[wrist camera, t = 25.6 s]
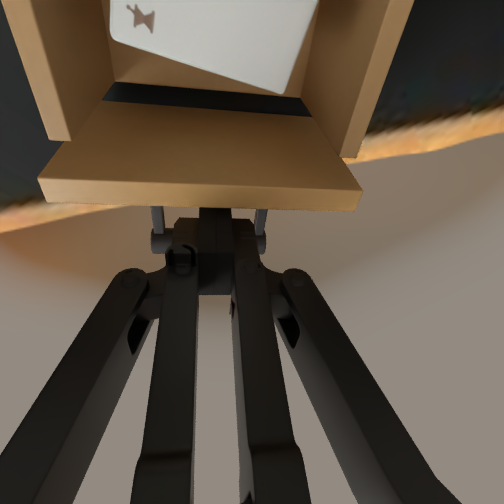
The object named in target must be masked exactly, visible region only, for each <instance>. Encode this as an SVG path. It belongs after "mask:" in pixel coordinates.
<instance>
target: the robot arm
mask: <svg viewBox="0 0 504 504" xmlns="http://www.w3.org/2000/svg"><path fill="white" fill-rule="evenodd" d="M255 233H256V232H255V226H254V224H253V223H252V222H251V221H250V219H234V218H232V215H231V208H211V207H200V208H199V218H180V217H179V219H178V220H177V221H176V223H175V224H174V230H173V238H172V245H170V246H169V247H168V248H167V249H166V251H165V258H166V266H165V267H164V268H162V269H160V270H158V271H155V272H151V273H147V274H146V273H145V272H144V271H143V270H140V269H138V268H130V269H125V270H123V271H121V272H119V273H118V274H117V275H116V276H115V277H114V279H113V280H112V282H111V283H110V285H109V286H108V288H107V289H106V291H105V293H104V294H103V296H102V297H101V299H100V300H99V302H98V303H97V305H96V307H95V308H94V310H93V311H92V313H91V314H90V316H89V318H88V319H87V321H86V322H85V324H84V325H83V327H82V328H81V330H80V332H79V333H78V335H77V336H76V338H75V340H74V341H73V342H72V344H71V346H70V347H69V349H68V350H67V352H66V354H65V355H64V356H63V358H62V360H61V361H60V363H59V364H58V366H57V368H56V369H55V371H54V372H53V374H52V376H51V377H50V378H49V380H48V381H47V383H46V385H45V386H44V388H43V389H42V391H41V392H40V394H39V396H38V397H37V399H36V400H35V402H34V403H33V405H32V406H31V408H30V410H29V411H28V413H27V414H26V416H25V417H24V419H23V420H22V422H21V424H20V426H19V427H18V428H17V430H16V432H15V433H14V435H13V436H12V438H11V439H10V441H9V442H8V444H7V445H6V447H5V449H4V450H3V452H2V453H1V455H0V504H72V503H73V501H74V499H75V497H76V494H77V492H78V490H79V488H80V486H81V483H82V481H83V479H84V477H85V474H86V472H87V470H88V468H89V465H90V463H91V461H92V459H93V456H94V454H95V452H96V450H97V447H98V445H99V443H100V441H101V438H102V436H103V434H104V432H105V430H106V427H107V425H108V423H109V421H110V418H111V416H112V414H113V412H114V409H115V407H116V405H117V403H118V400H119V398H120V396H121V394H122V391H123V389H124V387H125V384H126V382H127V380H128V378H129V376H130V373H131V371H132V369H133V367H134V365H135V362H136V360H137V358H138V356H139V353H140V351H141V349H142V347H143V344H144V342H145V340H146V338H147V335H148V333H149V331H150V328H151V326H152V324H153V322H154V319H157V318H159V325H158V333H157V340H156V347H155V354H154V362H153V370H152V376H151V384H150V391H149V399H148V406H147V413H146V421H145V428H144V435H143V443H142V449H141V454H140V457H139V459H138V461H137V465H136V469H135V474H134V479H133V486H132V493H131V501H130V504H193V503H194V454H195V453H194V451H195V419H196V418H195V417H196V383H197V382H196V381H197V348H198V311H199V310H198V309H199V295H230V294H231V304H230V314H231V323H232V340H233V358H234V375H235V393H236V411H237V429H238V446H239V463H240V479H239V490H240V491H239V492H240V504H311V499H310V493H309V488H308V482H307V477H306V472H305V466H304V461H303V457H302V453H301V451H300V448H299V447H298V446H297V444H296V442H295V440H294V435H293V430H292V424H291V418H290V412H289V406H288V401H287V395H286V389H285V383H284V378H283V372H282V366H281V360H280V354H279V349H278V343H277V337H276V332H275V326H274V322H275V324H276V327H277V329H278V331H279V333H280V335H281V337H282V340H283V342H284V344H285V346H286V348H287V350H288V352H289V355H290V357H291V359H292V361H293V364H294V366H295V368H296V370H297V372H298V374H299V377H300V379H301V381H302V383H303V385H304V388H305V390H306V392H307V394H308V396H309V399H310V401H311V403H312V405H313V407H314V410H315V412H316V414H317V416H318V418H319V420H320V422H321V425H322V427H323V429H324V431H325V433H326V436H327V438H328V440H329V442H330V444H331V447H332V449H333V451H334V453H335V455H336V457H337V459H338V462H339V464H340V466H341V468H342V470H343V473H344V475H345V477H346V479H347V481H348V484H349V486H350V488H351V490H352V492H353V494H354V496H355V498H356V500H357V502H358V504H462V503H461V502H460V501H459V500H458V499H456V498H455V496H454V495H453V494H452V493H451V492H450V491H449V490H448V489H447V488H446V487H445V486H444V485H443V484H442V483H441V482H440V481H439V480H438V479H437V478H436V477H435V475H434V473H433V472H432V470H431V469H430V467H429V465H428V464H427V462H426V461H425V459H424V457H423V456H422V454H421V453H420V451H419V449H418V448H417V446H416V445H415V443H414V441H413V440H412V438H411V437H410V435H409V434H408V432H407V431H406V429H405V427H404V426H403V424H402V422H401V421H400V419H399V418H398V416H397V415H396V413H395V411H394V410H393V408H392V406H391V405H390V403H389V402H388V400H387V398H386V397H385V395H384V394H383V392H382V391H381V389H380V388H379V386H378V384H377V382H376V381H375V379H374V378H373V376H372V374H371V373H370V371H369V370H368V368H367V367H366V365H365V364H364V362H363V360H362V359H361V357H360V355H359V354H358V352H357V351H356V349H355V347H354V346H353V344H352V343H351V341H350V339H349V338H348V336H347V335H346V333H345V332H344V330H343V328H342V327H341V325H340V323H339V322H338V320H337V319H336V317H335V316H334V314H333V312H332V311H331V309H330V307H329V306H328V304H327V303H326V301H325V300H324V298H323V296H322V295H321V293H320V292H319V290H318V288H317V287H316V285H315V284H314V282H313V280H312V279H311V277H310V276H309V275H308V274H307V273H306V272H304V271H303V270H300V269H296V268H295V269H294V268H293V269H288V270H285V271H284V273H283V274H282V273H278V272H274V271H271V270H269V269H267V268H266V267H265V266H264V265H263V263H262V262H261V261H260V256H259V250H258V244H257V239H256V234H255Z"/></svg>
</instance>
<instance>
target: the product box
mask: <svg viewBox="0 0 504 504" xmlns="http://www.w3.org/2000/svg"><path fill="white" fill-rule="evenodd" d="M318 1H319V0H110V34H111V36H112V38H113V39H114V40H116V41H118V42H121V43H124V44H127V45H130V46H133V47H136V48H139V49H142V50H145V51H148V52H151V53H154V54H158V55H161V56H163V57H166V58H169V59H172V60H175V61H178V62H181V63H184V64H188V65H191V66H194V67H197V68H200V69H203V70H206V71H209V72H212V73H215V74H219V75H222V76H225V77H228V78H231V79H234V80H237V81H240V82H243V83H246V84H249V85H252V86H256V87H259V88H262V89H265V90H268V91H271V92H274V93H277V94H283V93H284V92H285V89H286V87H287V84H288V81H289V79H290V76H291V73H292V71H293V68H294V65H295V63H296V60H297V57H298V55H299V52H300V49H301V47H302V44H303V41H304V39H305V36H306V33H307V31H308V28H309V25H310V23H311V20H312V17H313V15H314V12H315V9H316V6H317V4H318Z"/></svg>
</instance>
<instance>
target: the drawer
mask: <svg viewBox="0 0 504 504" xmlns="http://www.w3.org/2000/svg"><path fill="white" fill-rule="evenodd" d="M1 2H2V5H3V8H4V11H5V14H6V16H7V19H8V22H9V25H10V28H11V31H12V34H13V37H14V40H15V42H16V45H17V48H18V51H19V54H20V57H21V60H22V63H23V66H24V68H25V71H26V74H27V77H28V80H29V83H30V86H31V89H32V92H33V94H34V97H35V100H36V103H37V106H38V109H39V112H40V115H41V118H42V120H43V123H44V126H45V129H46V132H47V135H48V138H49V140H57V141H64V143H63V144H62V145H61V147H60V148H59V149H58V151H57V152H56V153H55V154H54V156H53V157H52V158H51V160H50V161H49V162H48V164H47V165H46V166H45V168H44V169H43V170H42V172H41V173H40V174H39V176H38V177H37V179H38V181H39V184H40V186H41V189H42V191H43V194H44V196H45V198H46V201H47V202H48V203H80V204H113V205H146V206H151V213H152V220H153V227H154V228H153V229H152V232H151V250H152V252H153V253H154V254H165V251H166V249H167V248H168V247H169V246H170V245H172V238H173V230H174V228H165V220H164V210H163V206H179V207H211V208H245V209H256V213H255V220H254V226H255V232H256V233H255V234H256V239H257V244H258V250H259V254H264V253H265V249H266V234H265V231H264V227H265V222H266V216H267V210H268V209H277V210H280V209H281V210H311V211H343V212H355V210H356V208H357V205H358V203H359V201H360V198H361V196H362V193H363V190H362V188H361V187H360V185H359V184H358V182H357V181H356V179H355V178H354V176H353V175H352V173H351V172H350V170H349V169H348V167H347V166H346V164H345V163H344V161H343V160H342V158H356V157H357V154H358V152H359V149H360V146H361V144H362V141H363V138H364V135H365V133H366V130H367V127H368V125H369V122H370V119H371V116H372V114H373V111H374V108H375V106H376V103H377V100H378V97H379V95H380V92H381V89H382V87H383V84H384V81H385V78H386V76H387V73H388V70H389V68H390V65H391V62H392V59H393V57H394V54H395V51H396V49H397V46H398V43H399V40H400V38H401V35H402V32H403V30H404V27H405V24H406V21H407V19H408V16H409V13H410V11H411V8H412V5H413V2H414V0H319V1H318V4H317V6H316V9H315V12H314V15H313V17H312V20H311V23H310V25H309V28H308V31H307V33H306V36H305V39H304V41H303V44H302V47H301V49H300V52H299V55H298V57H297V60H296V63H295V65H294V68H293V71H292V73H291V76H290V79H289V81H288V84H287V87H286V89H285V92H284V93H283V94H277V93H274V92H271V91H268V90H265V89H262V88H259V87H256V86H252V85H249V84H246V83H243V82H240V81H237V80H234V79H231V78H228V77H225V76H222V75H219V74H215V73H212V72H209V71H206V70H203V69H200V68H197V67H194V66H191V65H188V64H184V63H181V62H178V61H175V60H172V59H169V58H166V57H163V56H161V55H158V54H154V53H151V52H148V51H145V50H142V49H139V48H136V47H133V46H130V45H127V44H124V43H121V42H118V41H116V40H114V39H113V38H112V36H111V34H110V0H1ZM115 81H117V82H128V83H139V84H150V85H162V86H173V87H184V88H195V89H207V90H218V91H229V92H241V93H252V94H263V95H274V96H286V97H297V98H301V100H302V101H303V103H304V105H305V106H306V108H307V109H308V111H309V112H310V114H311V115H312V117H303V116H291V115H278V114H265V113H253V112H240V111H227V110H215V109H202V108H190V107H177V106H164V105H152V104H139V103H126V102H114V101H101V100H102V99H103V97H104V96H105V94H106V93H107V92H108V90H109V89H110V88H111V86H112V85H113V83H114V82H115ZM341 157H342V158H341Z"/></svg>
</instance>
